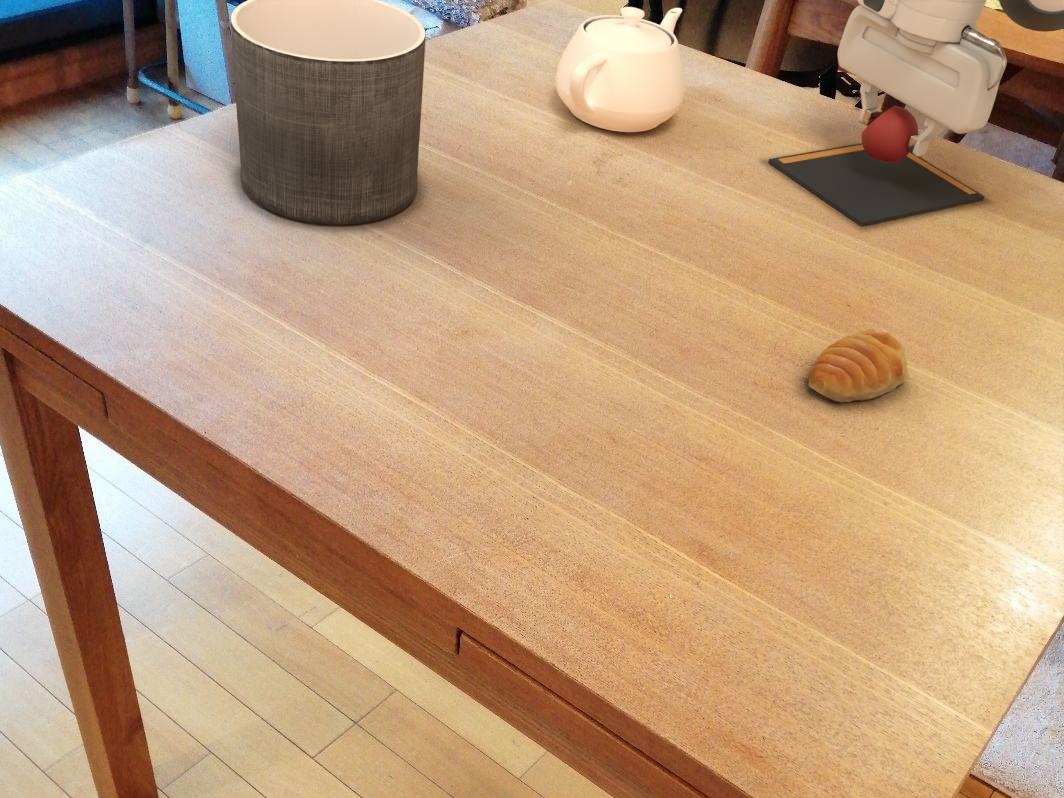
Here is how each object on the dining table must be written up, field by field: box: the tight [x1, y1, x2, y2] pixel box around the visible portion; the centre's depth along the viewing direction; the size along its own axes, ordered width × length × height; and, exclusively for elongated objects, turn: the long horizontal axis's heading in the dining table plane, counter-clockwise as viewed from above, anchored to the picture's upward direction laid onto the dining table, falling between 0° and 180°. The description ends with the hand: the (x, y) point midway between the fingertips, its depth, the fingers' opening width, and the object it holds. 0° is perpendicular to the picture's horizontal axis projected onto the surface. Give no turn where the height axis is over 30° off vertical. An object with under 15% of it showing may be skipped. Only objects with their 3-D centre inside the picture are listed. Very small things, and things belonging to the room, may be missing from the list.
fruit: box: [861, 105, 921, 163], centre depth 123 cm, size 6×6×8 cm
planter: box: [229, 0, 427, 225], centre depth 106 cm, size 18×18×16 cm
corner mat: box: [768, 142, 986, 227], centre depth 128 cm, size 20×16×1 cm
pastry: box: [808, 328, 910, 404], centre depth 95 cm, size 9×7×4 cm
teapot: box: [554, 6, 686, 133], centre depth 130 cm, size 25×16×12 cm, turn 147°
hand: (890, 138), depth 124 cm, fingers closed on fruit, 6 cm apart
